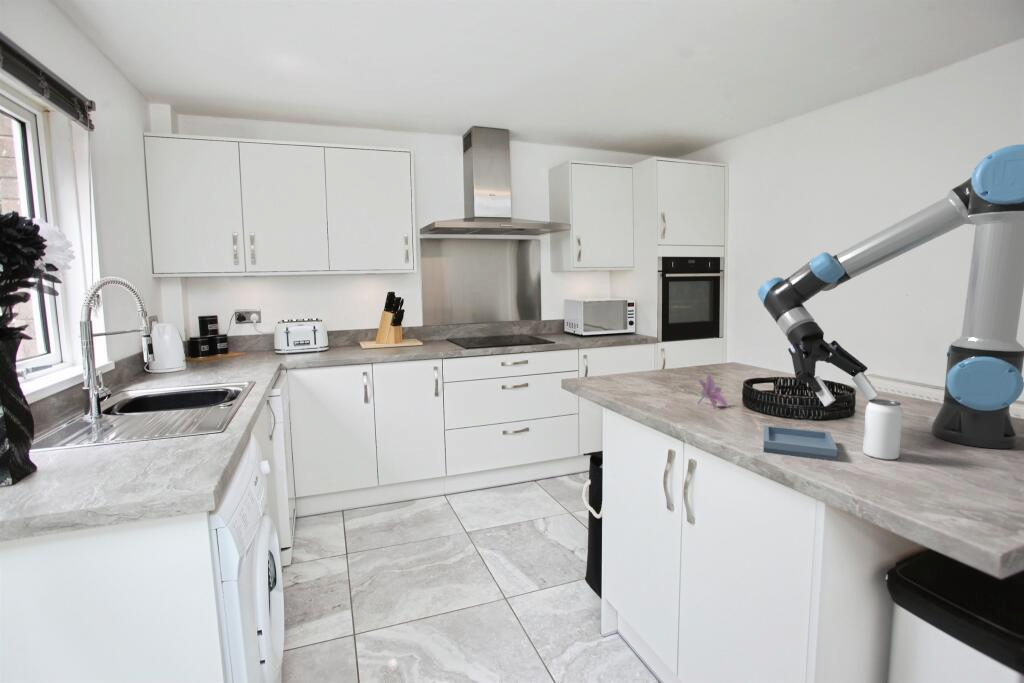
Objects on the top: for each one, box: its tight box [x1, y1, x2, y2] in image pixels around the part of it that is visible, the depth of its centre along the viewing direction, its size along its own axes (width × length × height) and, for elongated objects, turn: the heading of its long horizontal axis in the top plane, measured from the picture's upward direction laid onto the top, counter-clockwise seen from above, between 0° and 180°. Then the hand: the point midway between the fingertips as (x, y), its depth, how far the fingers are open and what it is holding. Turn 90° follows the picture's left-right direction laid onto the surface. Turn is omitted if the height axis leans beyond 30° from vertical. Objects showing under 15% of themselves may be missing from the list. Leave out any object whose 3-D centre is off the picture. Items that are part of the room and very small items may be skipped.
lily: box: [696, 372, 729, 411], centre depth 156 cm, size 12×12×10 cm
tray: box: [763, 424, 838, 462], centre depth 117 cm, size 14×14×2 cm
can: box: [862, 398, 903, 461], centre depth 111 cm, size 6×6×12 cm
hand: (852, 400), depth 116 cm, fingers open, 13 cm apart
